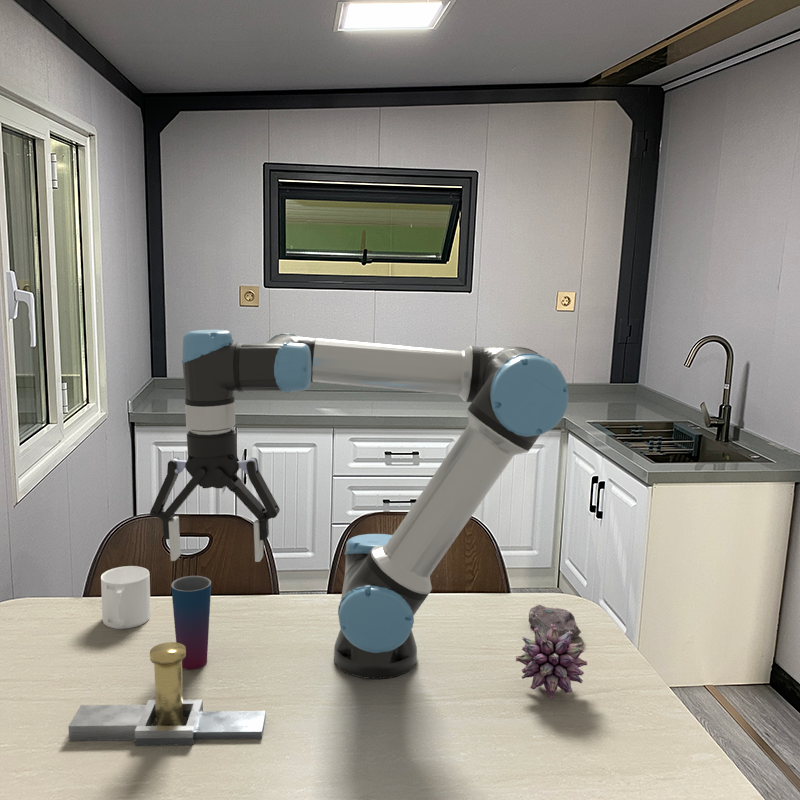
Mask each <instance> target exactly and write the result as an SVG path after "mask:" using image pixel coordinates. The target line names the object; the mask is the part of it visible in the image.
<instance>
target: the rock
mask: <svg viewBox="0 0 800 800" xmlns="http://www.w3.org/2000/svg"><path fill="white" fill-rule="evenodd" d="M528 622H529V625H530V626H532V628H534V629H536V628H538V629H539V630H540V631H541V632H542V633H544V634H545V635H546V636H547V633H548V631H549V630H550V627H551V624H552V625H555V628H557V633H558V637H561V636H563V635H564V634H566V633H567V632H569V631H570V632H572V633H573V634H572V636H571V640H572V639H576V638H579V635H580V634H581V633H582V631H581V629H580V628H579V626H578V624H577V623H576V619H575V616H574V614H573V612H571V611H569V610H567V609H563V608H559V607H557V608H555V607H547V606H544V605H541V604H536V605H535V606H533V607H531V608H530V609H529V613H528Z"/></svg>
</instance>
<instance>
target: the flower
mask: <svg viewBox="0 0 800 800" xmlns="http://www.w3.org/2000/svg"><path fill="white" fill-rule="evenodd" d="M533 633H534V639H530V638H527V637H526V636H522V638H521V640H522V641H523V642H524V645H523V646H522V647H521V648H522V649H521V650H522V651H523V653H522V654H520V655H515V662H520V663H521V664H523V665H524V666H525V667H524V668H522V669H521V672H522V674H523V675H522V676H521V678H522V680H523V679H526V678H532V681H531V682H532V684H531V685H530V687H529V688H530V689H531V690H534V691H535V690H536V689H537V688H539V687H542V686H544V689H545V693H546V694H547V698H548V699H550V698H551V699H553V698H554V696H555V693H556V691H557V690H558V688H560V689H561V690H563V692H565V694H566V695H567V694H569V693H572V692H573V688H572V682H577V683H579V684H583V679H582V678H581V677H580V676H583V674H584V673H585V672H584V671H583V670H581V669H580V668H581V667H584V666H588V661H587V660H583V659H582V658H581V657H580V656H581V654H582V653H585V651H584V647H582V646H583V644H582V641H581V642H578V643H571V641H572V639H571V636H572V634H573V633H572V632H570V631H569V632H567V633H566V634H564V635H563V636H561V637H558V633H557V628H555V625H552V624H551V627H550V630H549V631H548V633H547V636H546V635H545V634H544V633H542V632H541V631H540V630H539V629H538V628H534V629H533Z"/></svg>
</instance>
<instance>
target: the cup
mask: <svg viewBox="0 0 800 800" xmlns="http://www.w3.org/2000/svg"><path fill="white" fill-rule="evenodd" d="M170 587H171V588H170V589H171V598H172V599H171V600H172V609H173V610H172V611H173V621H174V632H175V642H177V643H181V644H183V645H184V646H185V647H186V657H185V658H184V659H183V660H182V670H189V671H190V670H197V669H200V668H202V667H204V666H206V665H207V663H208V648H209V633H210V631H209V630H210V614H211V613H210V611H211V595H212V581H211V579H209V578H208V577H206V576H201V575H189V576H182V577H178V578H177V579H174V580H173V581H172V582H171V585H170Z"/></svg>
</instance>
